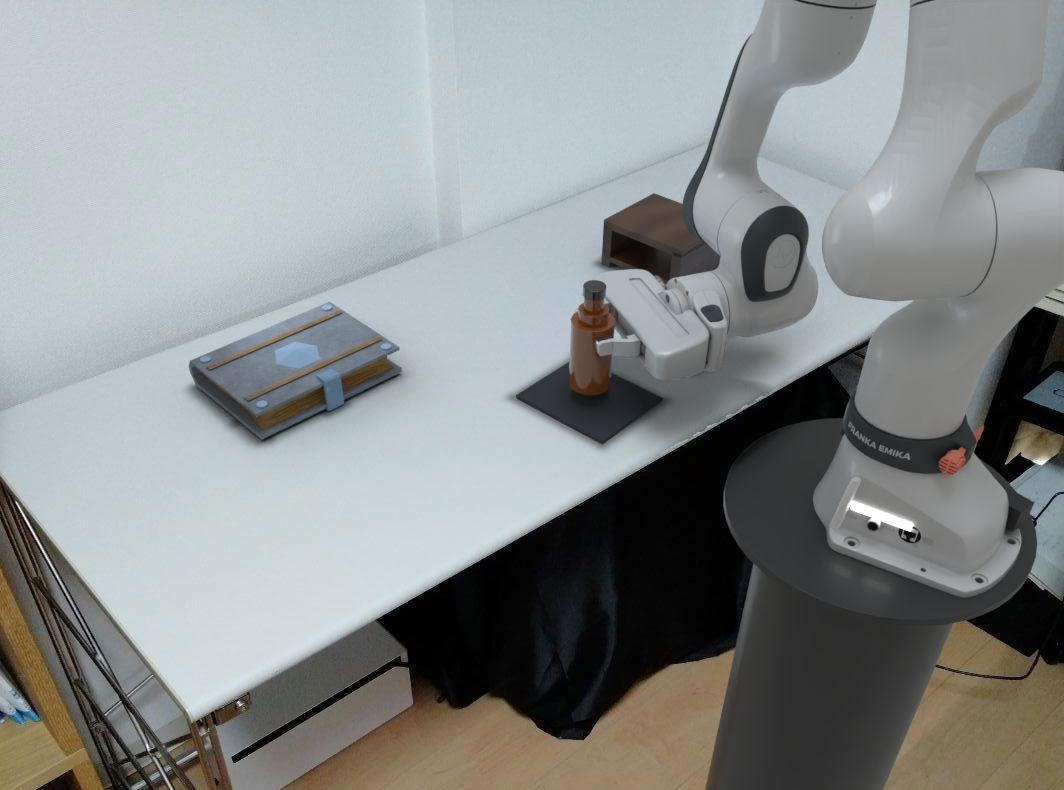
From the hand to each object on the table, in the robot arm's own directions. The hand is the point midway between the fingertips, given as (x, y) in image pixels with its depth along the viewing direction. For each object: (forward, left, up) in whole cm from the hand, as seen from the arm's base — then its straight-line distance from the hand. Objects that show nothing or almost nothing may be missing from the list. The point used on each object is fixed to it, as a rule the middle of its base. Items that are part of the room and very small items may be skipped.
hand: (585, 333), depth 123 cm
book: (+29, +21, -10) cm, 38 cm away
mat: (-1, -1, -10) cm, 10 cm away
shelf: (+13, -35, -10) cm, 38 cm away
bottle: (0, -1, -7) cm, 7 cm away
